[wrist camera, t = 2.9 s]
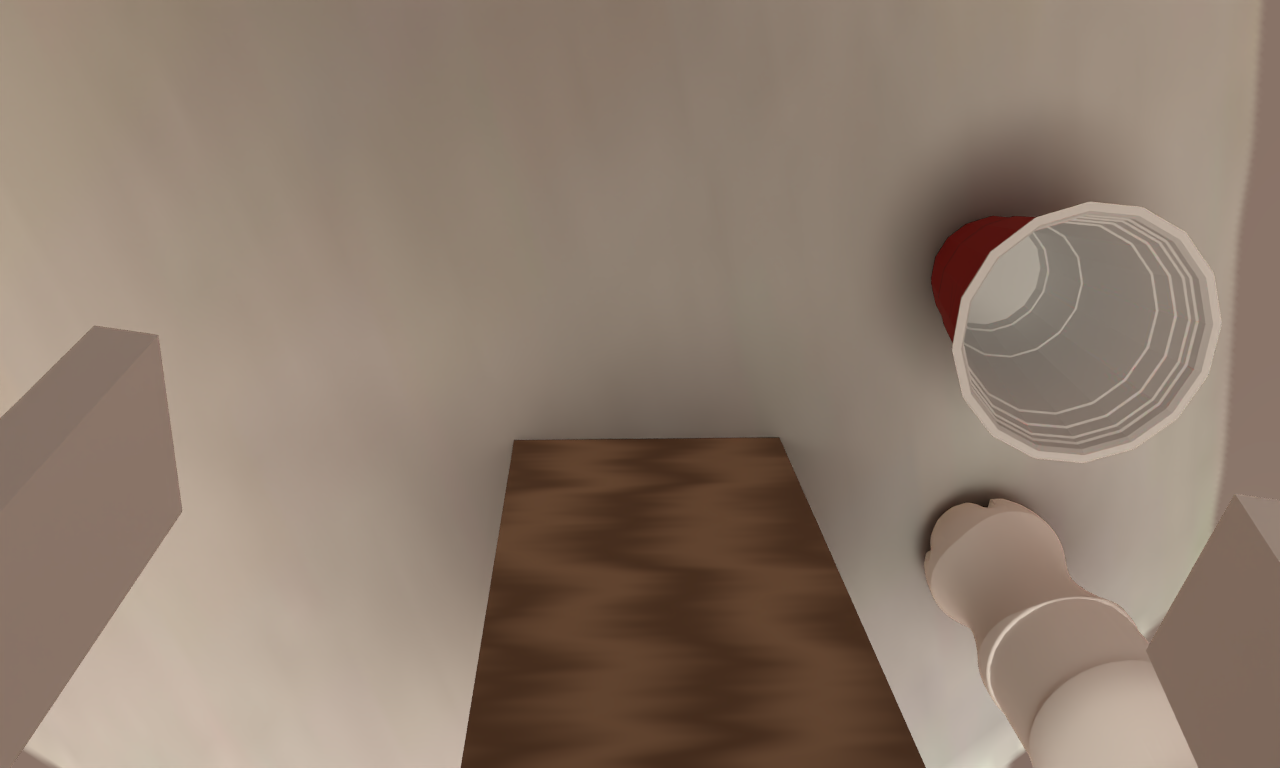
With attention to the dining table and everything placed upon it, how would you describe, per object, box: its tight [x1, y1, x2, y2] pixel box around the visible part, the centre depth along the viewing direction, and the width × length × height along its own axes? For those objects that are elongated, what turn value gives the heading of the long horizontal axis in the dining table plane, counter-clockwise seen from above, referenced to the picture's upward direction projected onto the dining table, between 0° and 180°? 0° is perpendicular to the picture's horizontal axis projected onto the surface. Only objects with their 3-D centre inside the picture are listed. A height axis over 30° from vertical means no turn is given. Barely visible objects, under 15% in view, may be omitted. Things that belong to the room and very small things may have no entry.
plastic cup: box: [931, 202, 1222, 463], centre depth 48 cm, size 11×11×12 cm
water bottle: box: [924, 498, 1198, 768], centre depth 47 cm, size 7×7×25 cm
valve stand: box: [461, 438, 926, 768], centre depth 43 cm, size 15×11×30 cm
